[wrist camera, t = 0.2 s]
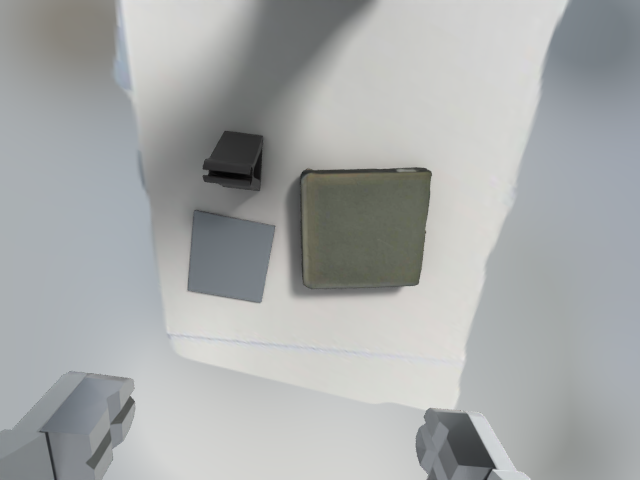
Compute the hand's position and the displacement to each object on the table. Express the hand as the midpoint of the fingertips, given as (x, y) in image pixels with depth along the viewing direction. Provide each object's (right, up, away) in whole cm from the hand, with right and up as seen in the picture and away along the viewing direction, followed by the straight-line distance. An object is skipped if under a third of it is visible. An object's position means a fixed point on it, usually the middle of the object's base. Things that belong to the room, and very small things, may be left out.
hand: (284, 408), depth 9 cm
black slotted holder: (-12, +18, +43) cm, 48 cm away
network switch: (+8, +7, +49) cm, 50 cm away
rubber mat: (-16, +1, +50) cm, 52 cm away
